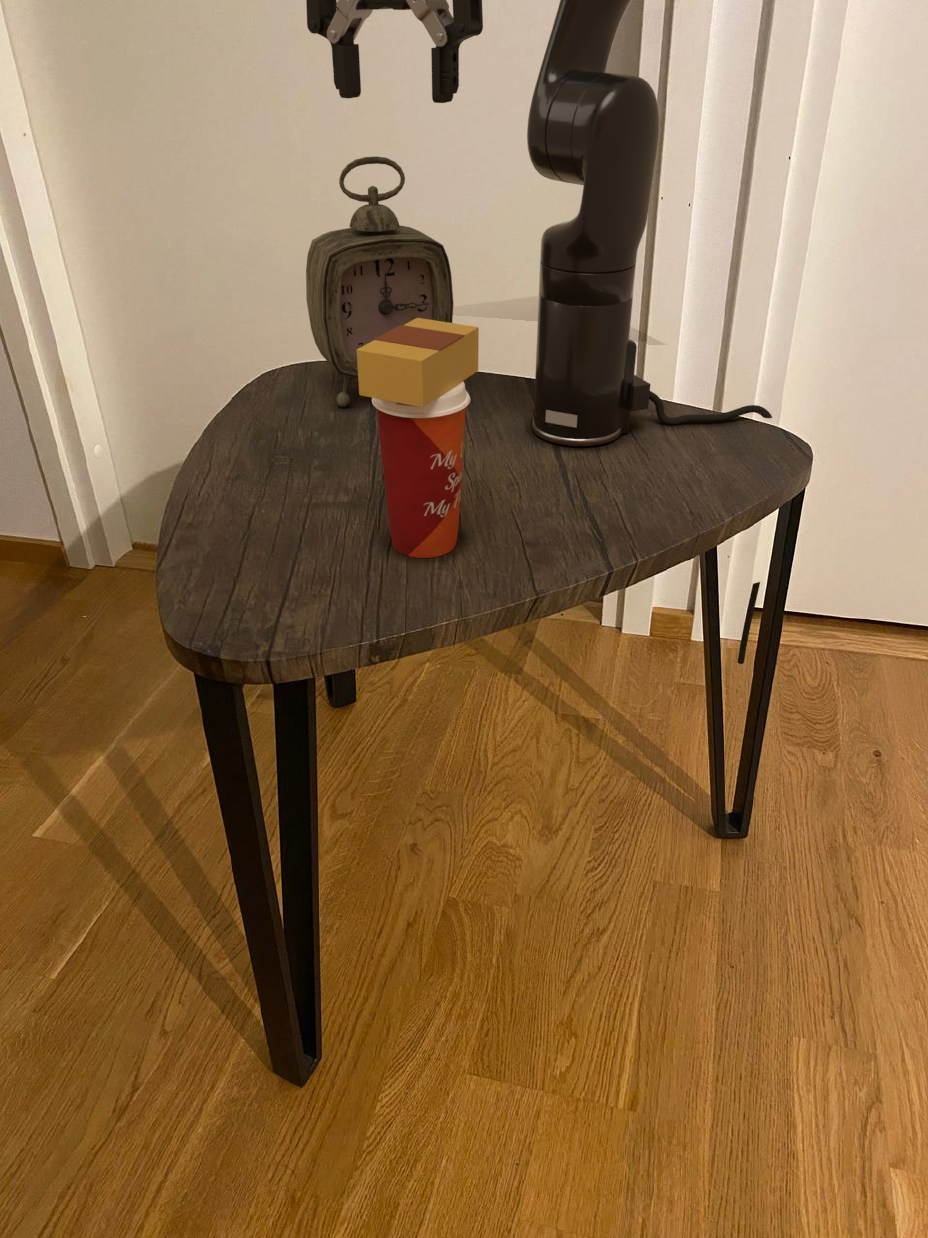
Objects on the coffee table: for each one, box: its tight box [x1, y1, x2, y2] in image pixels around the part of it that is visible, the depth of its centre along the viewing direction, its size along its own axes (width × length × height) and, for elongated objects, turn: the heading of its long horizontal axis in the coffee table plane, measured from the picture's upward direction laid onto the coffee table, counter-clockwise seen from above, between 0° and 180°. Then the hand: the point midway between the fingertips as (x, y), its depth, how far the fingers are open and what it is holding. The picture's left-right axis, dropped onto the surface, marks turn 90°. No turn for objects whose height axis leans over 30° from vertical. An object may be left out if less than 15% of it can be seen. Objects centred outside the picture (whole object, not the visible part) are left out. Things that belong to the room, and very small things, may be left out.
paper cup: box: [371, 381, 471, 559], centre depth 80 cm, size 8×8×14 cm
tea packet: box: [357, 318, 480, 407], centre depth 75 cm, size 9×6×4 cm, turn 153°
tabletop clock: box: [305, 156, 454, 408], centre depth 106 cm, size 14×9×25 cm, turn 111°
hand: (395, 99), depth 78 cm, fingers open, 8 cm apart
